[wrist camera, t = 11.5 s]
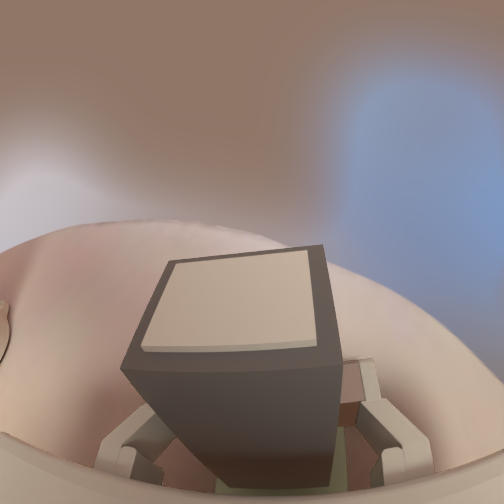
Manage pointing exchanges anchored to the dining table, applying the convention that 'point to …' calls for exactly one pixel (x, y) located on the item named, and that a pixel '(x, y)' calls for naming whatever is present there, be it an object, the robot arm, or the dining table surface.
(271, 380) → the block
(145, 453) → the robot arm
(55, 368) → the dining table surface
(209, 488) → the dining table surface
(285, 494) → the pad
